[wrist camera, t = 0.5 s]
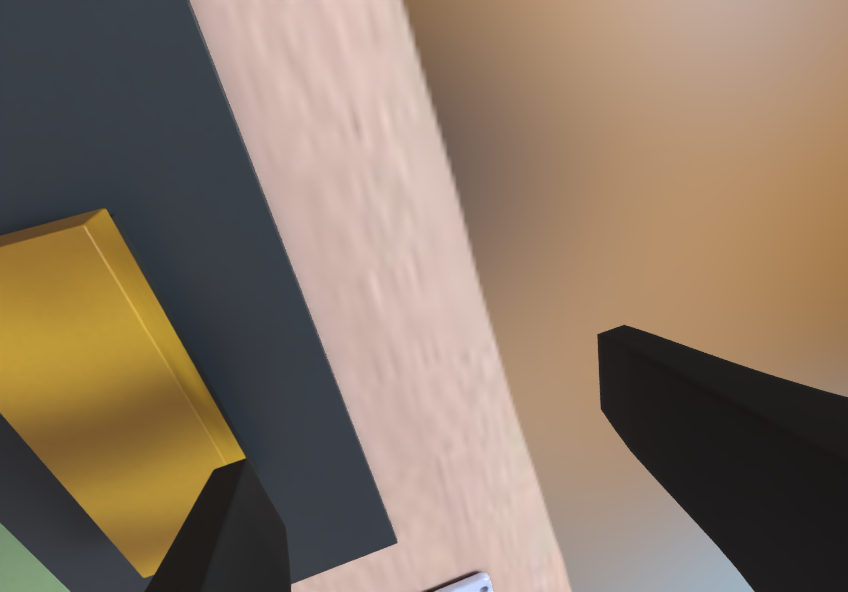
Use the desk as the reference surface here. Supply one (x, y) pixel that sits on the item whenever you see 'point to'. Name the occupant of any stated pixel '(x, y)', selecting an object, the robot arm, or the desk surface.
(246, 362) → the desk mat
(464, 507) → the desk surface
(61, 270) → the gold bar
